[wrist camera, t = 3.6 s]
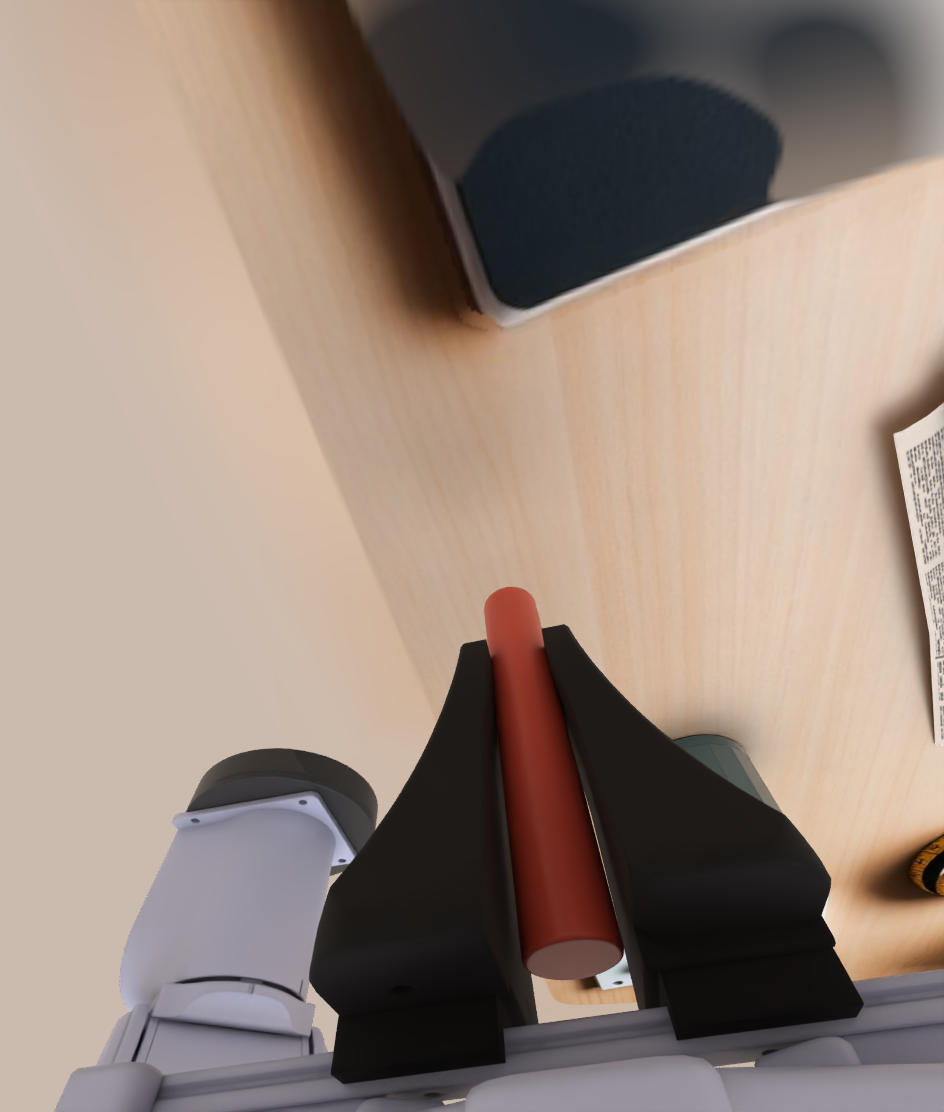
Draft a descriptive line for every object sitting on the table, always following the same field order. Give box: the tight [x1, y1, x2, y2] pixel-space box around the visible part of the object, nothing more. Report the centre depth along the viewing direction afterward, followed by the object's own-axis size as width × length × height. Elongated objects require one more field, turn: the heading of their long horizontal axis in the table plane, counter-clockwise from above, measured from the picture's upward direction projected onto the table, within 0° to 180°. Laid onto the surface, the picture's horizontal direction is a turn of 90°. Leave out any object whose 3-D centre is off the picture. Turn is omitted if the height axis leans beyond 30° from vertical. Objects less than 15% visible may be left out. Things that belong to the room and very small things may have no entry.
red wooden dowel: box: [484, 587, 624, 980], centre depth 11 cm, size 2×2×9 cm
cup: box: [674, 735, 782, 813], centre depth 26 cm, size 6×6×5 cm
